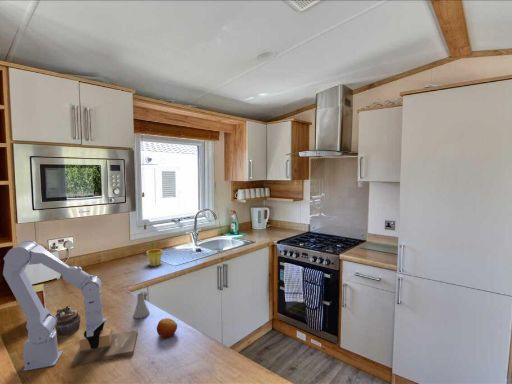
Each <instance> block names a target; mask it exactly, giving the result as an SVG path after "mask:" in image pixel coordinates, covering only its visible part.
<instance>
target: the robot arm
mask: <svg viewBox="0 0 512 384" xmlns="http://www.w3.org/2000/svg"><path fill="white" fill-rule="evenodd" d="M3 261H4V264H3V271H2V276H3V277H4V280H5V281H6V283H7V284H8V285H7V286H8V287H9V288H10V290H11V292H12V293H13V296H14V297H15V299H16V301H17V302H18V305H19V306H20V308H21V310H22V312H23V314H24V316H25V318H26V327H25V328H26V330H27V333H28V334H27V338H28V339H27V340H26V341H25V342H24V344H23V350H22V356H23V365H24V368H23V371H24V372H26V371H30V370H31V371H32V370H36V369H43V368H46V367H53V366H55V365H56V364H57V362H58V360H59V359H60V357H61V355H62V354H63V350H59V348H58V347H59V346H58V337H57V331H56V328H55V326H56V324H57V318H56V315H55V314H52V313H51V311H50V310H49V309H48V308H46V309H45V308H44V307H43V305H42V303H41V301H40V300H39V298H38V296H37V294H36V292H35V290H34V288H33V286H34V285H33V284H32V283H31V280H30V279H29V277H28V276H27V273H26V271H25V270H26V269H27V267H28V265H29V266H30V265H37V264H38V265H39V264H41V265H43V266H45V267H47V268H49V269H50V270H53V271H54V272H56V273H57V274H61V275H62V280H63V281H64V282H66V283H68V284H70V285H71V286H72V287H75V288H76V289H78V290H80V292H81V293H80V294H82V296H83V304H84V305H83V306H84V316H85V317H84V318H85V324H84V325H85V328H86V330H85V331H84V332H83V333H84V337H86V338H87V340H88V341H89V344H90V346H91V349H95V348H98V345H99V336H100V333H101V330H104V325H105V323H106V322H107V319H108V318H107V317H104V313H103V312H104V311H103V300H102V299H103V298H102V291H101V290H102V289H101V287H102V282H103V281H102V280H101V278H100V277H99V276H97V275H93V274H89V273H88V272H86V271H84V270H82V269H83V267H81V266H78V267H77V266H76V265H74V266H69V265H68V264H67V263H65V262H64V261H62V260H61V259H59V257H57V256H55V255H54V254H52V253H51V252H50V251H48V250H47V249H46V248H45V247H44V246H42V245H40V244H38V243H37V242H36V241H33V240H25V241H23V242H21V243H20V244H18V245H17V246H15V247H12V248H11V249H9V250H8V251H7V252H6V254H5V255H4V257H3Z"/></svg>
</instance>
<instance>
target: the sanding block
mask: <svg viewBox="0 0 512 384" xmlns="http://www.w3.org/2000/svg"><path fill="white" fill-rule="evenodd" d="M112 334H113V331H112V328H108V329H103V330H101V333H100V336H99V345H98V348H95V349H91V346H90V344H89V341H88V340H87V338H86V337H84V332H83V333H81V336H80V338H79V340H78V342H79V343H78V344H79V347H80V353H82V352H88V351H93V350H99V349H104V348H110V346H111V343H112Z"/></svg>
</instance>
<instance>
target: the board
mask: <svg viewBox="0 0 512 384" xmlns="http://www.w3.org/2000/svg"><path fill="white" fill-rule="evenodd" d="M138 334H139V333H138V329H137V330H130V331H126V332H119V333H112V343H111V346H110V348H104V349H99V350H93V351H88V352H82V353H80V346H79V348H78V350H77V351H76V353H75V355H74V357H73V360H72V361H71V366H72V367H75V366H80V365H85V364H90V363H94V362H95V363H97V362H102V361H107V360H108V361H109V360H113V359H118V358H123V357H128V356H133V355H134V353H135V350H136V349H135V348H136V345H137V338H138Z"/></svg>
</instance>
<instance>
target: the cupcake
mask: <svg viewBox="0 0 512 384" xmlns="http://www.w3.org/2000/svg"><path fill="white" fill-rule="evenodd" d="M55 316H56V318H57V324H56V326H55V327H54V329H55V331H56V334H57V335H58V336H62V337H63V336H68V335H69V336H70V335H72V334H75V333H76V332H77V331H79V329H80V325H81V318H82V317H81V314H80V313H79V311H78V310H76V309H73V308H72V307H71V305H67V306H65V308H62V309H57V310H56V315H55Z"/></svg>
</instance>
